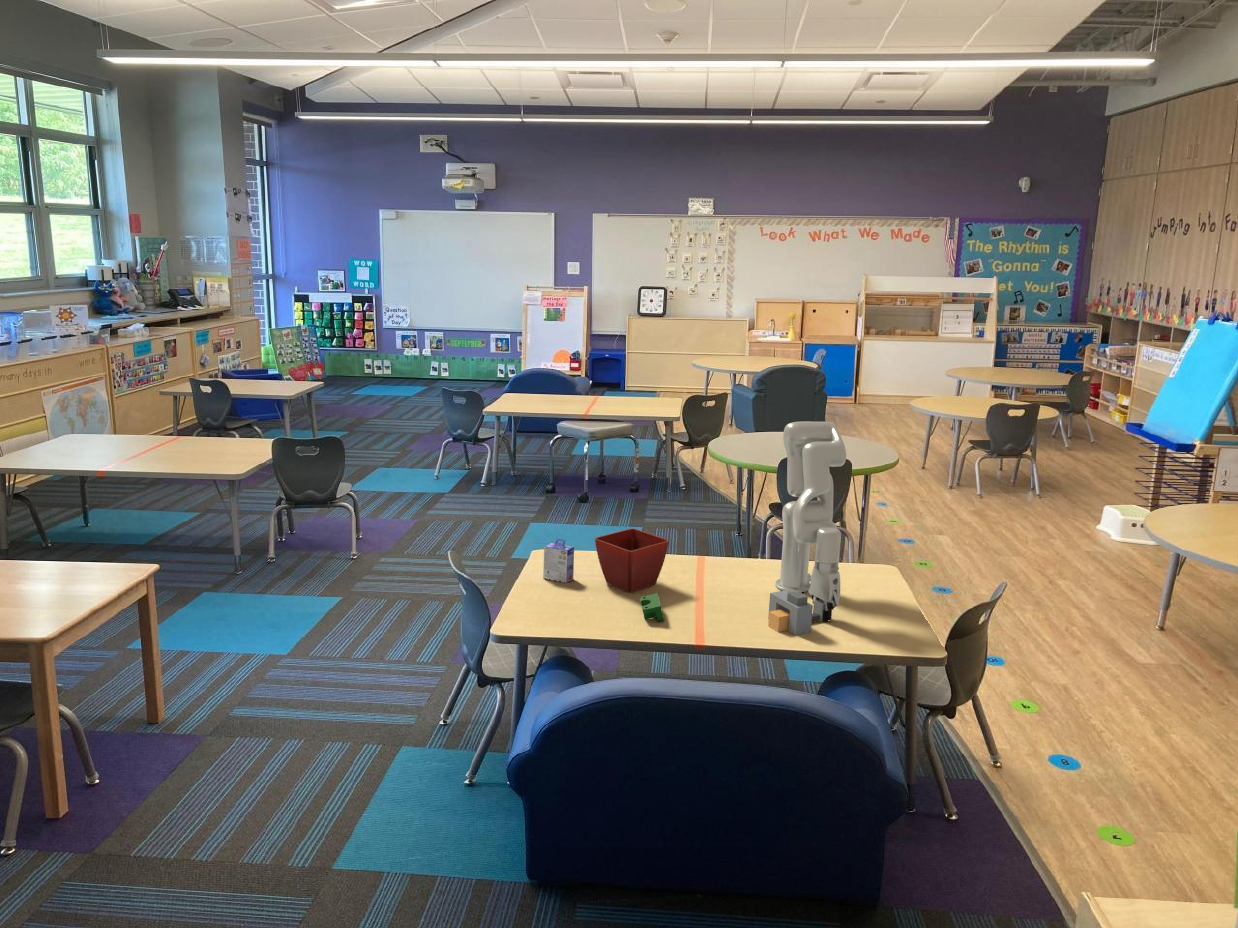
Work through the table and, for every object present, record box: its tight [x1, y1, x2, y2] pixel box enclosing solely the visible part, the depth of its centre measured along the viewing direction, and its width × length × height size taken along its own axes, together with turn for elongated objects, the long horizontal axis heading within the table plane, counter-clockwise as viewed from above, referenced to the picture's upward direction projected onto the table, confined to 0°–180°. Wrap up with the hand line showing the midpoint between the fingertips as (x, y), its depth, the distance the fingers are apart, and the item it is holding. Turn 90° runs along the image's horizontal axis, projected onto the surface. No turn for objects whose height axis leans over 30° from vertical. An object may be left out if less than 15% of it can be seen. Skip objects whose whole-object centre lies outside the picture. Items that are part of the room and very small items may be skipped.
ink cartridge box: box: [542, 538, 575, 584], centre depth 331 cm, size 10×6×14 cm, turn 65°
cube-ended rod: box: [767, 599, 830, 633], centre depth 299 cm, size 22×5×6 cm, turn 119°
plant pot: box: [594, 528, 670, 593], centre depth 328 cm, size 19×19×17 cm
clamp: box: [639, 592, 665, 623], centre depth 302 cm, size 12×6×9 cm, turn 177°
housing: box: [767, 590, 814, 636], centre depth 297 cm, size 6×14×12 cm, turn 28°
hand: (821, 617), depth 304 cm, fingers closed on cube-ended rod, 4 cm apart
